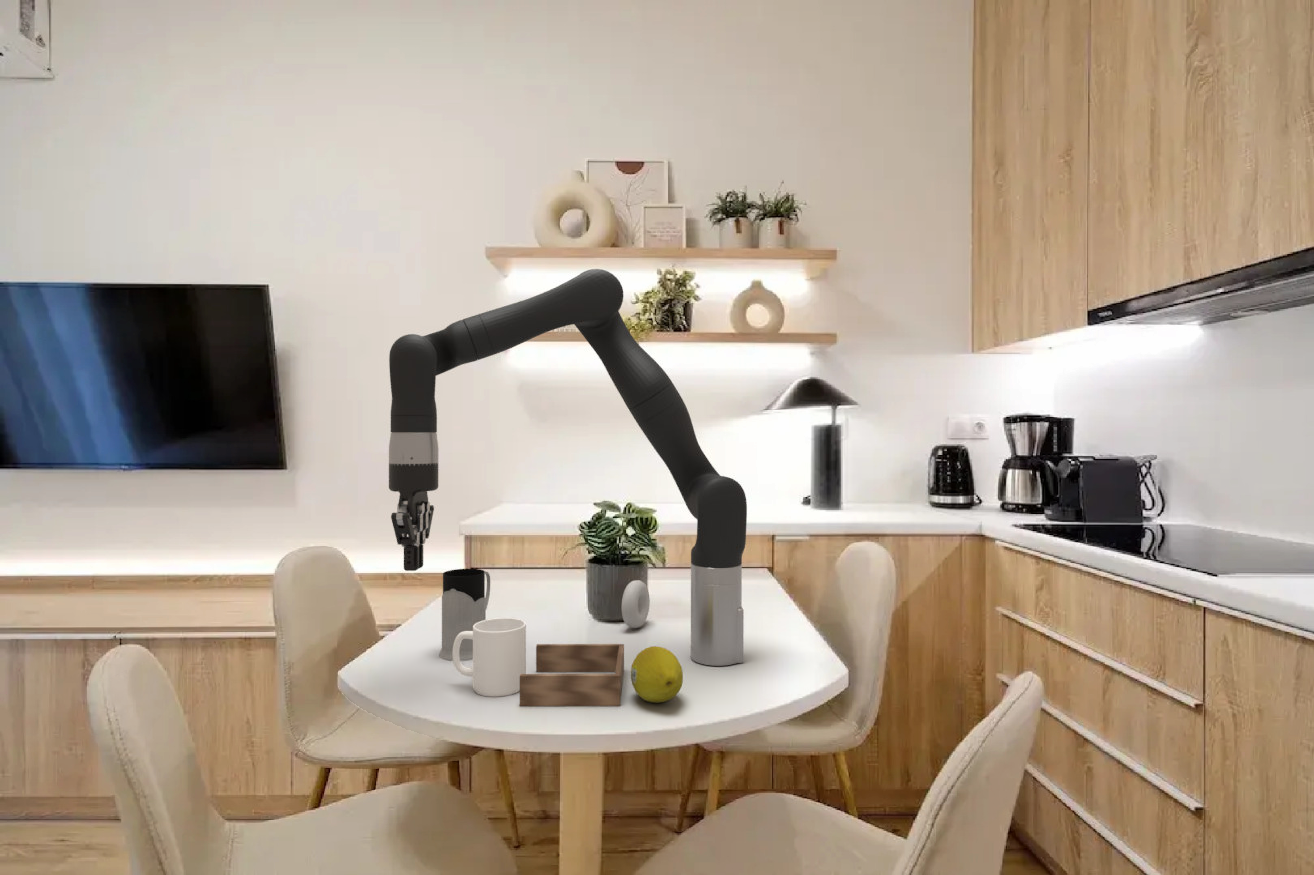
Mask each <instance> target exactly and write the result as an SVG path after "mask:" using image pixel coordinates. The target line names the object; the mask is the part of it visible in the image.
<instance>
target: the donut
mask: <svg viewBox="0 0 1314 875" xmlns="http://www.w3.org/2000/svg"><path fill="white" fill-rule="evenodd" d="M650 600H651V599H650V591H649V589H648V587H647V585H646V583H644V581H642V580H639V579H638V580H632V581H630V582H629V583H628V584H627V585H626V587H625V588H624V591H623V593H622V598H621V615H622V619H623V623H625V625H626V626H627V627H628V628H630V629H638V628H641V627H642V626H643V625H644V624H645V623H646V621H647V618H648V615H649V612H650V604H651V603H650Z"/></svg>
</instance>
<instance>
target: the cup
mask: <svg viewBox="0 0 1314 875" xmlns="http://www.w3.org/2000/svg"><path fill="white" fill-rule="evenodd" d="M463 639H471V640H473V659H472V667H466V666H464V665H463V664H462V661H460V658H459V649H460V644H461V641H462V640H463ZM526 650H527V622H526V621H524V620H522V619H519V618H515V617H514V618H513V617H497V618H495V617H494V618H489V619H486V620H483V621H480V622H477V623H476V624H474V625H473V631H463V632H461V633H459V634H458V635H457V637H456V638H455V641H454V644H453V652H452V656H453V661H452V662H453V666H454V667H455V669H456V671H458V673H460V674H461V675H463V676H466V677H472V687H473V690H474V692H475V693H476V694H478V695H480V696H483V697H488V698H489V697H491V698H497V697H507V696H510V695H514V694H516V693H517V694H518V693H520V674H527V651H526Z"/></svg>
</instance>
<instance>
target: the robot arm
mask: <svg viewBox="0 0 1314 875" xmlns="http://www.w3.org/2000/svg"><path fill="white" fill-rule="evenodd" d="M623 302H624V288H623V286H622V284H621V282H620V280H619V279H618V277H617V276H615V275H614V274H613V273H611V272H610V271H608V270H605V269H603V268H602V269H601V268H591V269H587V270H585V271H583V272H581V273H579V274H578V275H577V276H576V275H575V277H573V278H571V279H569V280H567V281H565V282H563V283H561V284H559V285H558V286H555V287H554V288H551V289H549V290H547V291H544V292H542V293H539V294H536V295H534V296H531V297H529V298H526V299H524V300H519V301H517V302H514V303H511V304H508V305H504V306H501V307H498V308H494V309H491V310H487V311H485V312H482V313H478V314H474V315H471V316H469V317H465V318H462V319H460V320H457V321H455V322H453V323H450V324H448V325H447V327H445V328H444V329H443V328H442V329H441V330H438V331H435V332H432V333H429V334H426V335H419V334H414V333H409V334H405V335H402V336H399V338H397V339H396V340H395V341H394V342H393V344H392V346H391V347H390V350H389V356H388V357H389V359H388V362H389V364H388V365H389V367H388V368H389V378H390V379H389V380H390V381H389V382H390V390H391V391H390V392H391V393H390V394H391V407H390V437H389V443H388V489H389V490H390V491H391V492H394V493H396V492H398V493H399V499H398V504H397V506H396V507H397V508H396V512H392V513H391V516H390V519H391V523H392V528H393V530H394V536H395V539H396V542H397V545H398V546H399V545H401V547H402V548H403V569H404V571H406V572H412V571H413V572H414V571H417V570H419V569H421V568H423V566H424V545H425V543H426V541H427V539H429V537H430V533H431V526H432V522H433V515H434V510H435V506H434V505H432V504H430V503H431V502H430V501H429V496H428V492H433V491H437V490H438V488H439V442H438V413H437V410H438V409H437V403H436V397H435V396H436V383H437V382H436V381H437V378H436V377H437V376H439V375H441V374H443V373H446V372H448V371H450V370H453V369H455V368H458V367H459V366H462V365H466V364H469V363H473V362H477V361H479V360H483V359H485V358H488V357H489V358H490V357H491V356H495V355H497V354H500V353H503V352H504V351H505V352H506V351H508V350H509V349H512V348H515V347H517V346H519V345H521V344H523V343H525V342H528V341H529V340H532V339H534V338H536V337H540V335H543V334H546V333H548V332H551V331H553V330H557V329H560V328H564V327H567V326H572V325H574V327H576V328H577V330H578V331H579V333H581V335H582V336H583V338H584V339H585V340H586V342H587V343H588V344H589V345H590V346H591V349H593V351H594V352H595V353H596V354H597V356H598V358H599V359H600V361H601V362H602V365H603V366H604V368H605V370H606V372H607V374H608V376H609V377H610V379H611V381H612V383H613V385H614V386H615V389H617V392H618V393H619V395H620V397H621V399H622V400H623V402H624V404H625V405H626V407H627V409H628V411H629V413H630V414H631V416H632V418H633V419H634V420H635V422H636V424H637V425H638V427H639V428H640V430H641V431H642V433H643V434H644V436H645V438H647V440H648V442H649V443H650V444H651V446H652V447H653V449H654V450H655V452H656V453H657V454H658V456H659V457H660V458H661V460H662V461H663V463H664V464H665V465H666V467H667V469H668V470H669V472H670V475H671V477H672V478H673V481H674V482H675V485H676V486H677V488H678V490H679V493H680V495H681V496H682V499H683V501H684V504H685V506H686V508H687V509H688V511H689V513H690V514H691V516H693V518H694V519H696V521H697V524H696V525H697V526H696V540H695V543H694V545H693V546H692V548H691V550H690V658H691V660H692V661H693V662H695V663H698V664H702V665H706V666H718V667H719V666H720V667H721V666H722V667H724V666H730V665H734V664H735V665H736V664H743V663H744V632H745V631H744V629H745V628H744V626H745V625H744V619H745V618H744V609H743V606H742V604H743V603H742V602H743V601H742V592H743V591H742V590H743V586H742V578H743V576H742V574H743V572H742V571H743V570H742V567H743V566H742V565H743V563H742V562H743V561H742V560H743V559H742V558H743V553H744V551H745V548H746V544H747V543H746V542H747V540H746V539H747V524H748V523H747V521H748V520H747V518H748V513H747V512H748V504H747V496H746V493H745V491H744V489H743V487H742V485H741V484H740V483H739V482H738V481H737V480H735V479H733V478H731V477H728V476H724V475H721V474H719V472H718V471H717V470H716V468H715V467H714V466H713V464H712V463H711V461H710V460H709V459H708V457H707V456H706V455H705V453H704V451H703V450H702V447H701V446H700V444H699V442H698V439H697V435H696V433H695V432H696V431H695V429H694V426H693V422H692V418H691V416H690V413H689V410H688V408H687V405H686V403H685V401H684V400H683V398H682V396H681V394H680V392H679V390H678V389H677V388H676V386H675V384H674V383H673V381H672V379H671V378H670V376H668V374H667V373H666V371H665V370H664V369H663V368H662V367H661V365H659V363H658V362H657V361H656V360H655V359H654V358H653V357H652V356H651V355H650V354H649V353H647V351H646V350H644V348H643V347H642V346H641V345H640V344H639V343H638V342H637V341H636V340H635V338H634V337H633V335H632V334H631V333H630V332H631V331H630V330H629V329H628V327H627V325H626V323H625V321H624V320H623V318H622V316H621V313H620V309H621V308H622V305H623Z"/></svg>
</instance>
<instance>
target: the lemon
mask: <svg viewBox="0 0 1314 875" xmlns="http://www.w3.org/2000/svg"><path fill="white" fill-rule="evenodd" d="M630 668H631V669H630V679H631V685H632V687H633V689H634V691H635V693H636V694H637V695H638V696H639V697H640V698H642V700H644V701H647V702H649V703H664V702H668V701H669V700H671V699H674V697H676V696H677V695H678V693H680V690H681V689H682V685H683V682H684V676H683V675H684V674H683V668H682V665H681V663H680V661H679V659H678V658H677V656H676V655H675V654H674V653H673V652H672V651H671V650H669V649H667V648H665V647H662V646H649V647H646V648H644V649H642V650H641V651H640V652H639V653H637V655H636V656H635V658H634V660H633V662H632V664H631V667H630Z"/></svg>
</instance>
